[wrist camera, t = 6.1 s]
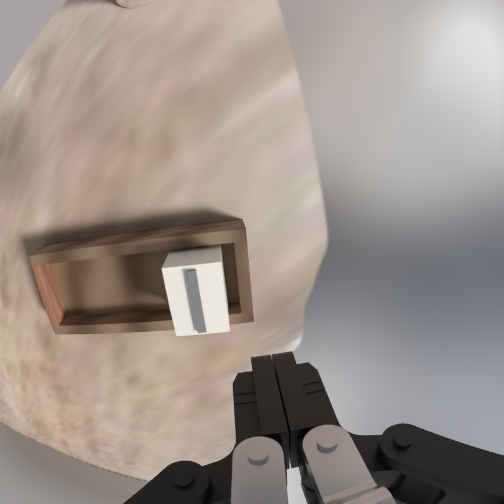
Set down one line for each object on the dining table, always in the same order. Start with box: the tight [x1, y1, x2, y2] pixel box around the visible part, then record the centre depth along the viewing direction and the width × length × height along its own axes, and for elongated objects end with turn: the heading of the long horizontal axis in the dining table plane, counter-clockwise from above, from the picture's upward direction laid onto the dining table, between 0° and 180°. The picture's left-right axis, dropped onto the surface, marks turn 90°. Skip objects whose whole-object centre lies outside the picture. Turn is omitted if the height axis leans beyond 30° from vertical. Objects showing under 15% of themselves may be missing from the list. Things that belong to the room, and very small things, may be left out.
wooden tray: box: [29, 220, 254, 334], centre depth 30 cm, size 24×10×4 cm, turn 95°
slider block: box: [162, 244, 230, 336], centre depth 28 cm, size 5×7×6 cm
